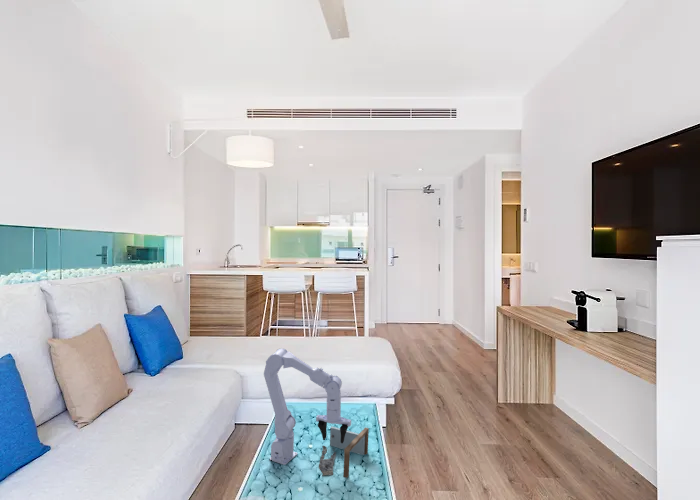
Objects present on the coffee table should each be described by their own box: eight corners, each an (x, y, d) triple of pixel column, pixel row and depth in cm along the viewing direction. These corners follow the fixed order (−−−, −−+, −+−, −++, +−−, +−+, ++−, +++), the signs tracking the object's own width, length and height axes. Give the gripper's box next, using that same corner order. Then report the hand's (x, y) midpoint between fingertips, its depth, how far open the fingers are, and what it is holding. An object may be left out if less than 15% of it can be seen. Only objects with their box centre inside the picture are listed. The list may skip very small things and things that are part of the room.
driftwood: (332, 478, 155) (333, 473, 155) (315, 477, 155) (315, 471, 155) (338, 450, 176) (338, 445, 176) (322, 449, 176) (322, 444, 176)
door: (328, 446, 176) (329, 428, 176) (331, 444, 178) (331, 426, 178) (362, 456, 169) (362, 437, 169) (364, 453, 171) (365, 435, 171)
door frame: (347, 477, 155) (348, 450, 154) (343, 476, 155) (344, 449, 155) (367, 453, 173) (368, 428, 172) (364, 452, 173) (365, 427, 173)
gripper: (353, 406, 166) (353, 438, 166) (320, 401, 170) (320, 433, 171) (348, 413, 159) (348, 447, 160) (314, 408, 163) (314, 441, 164)
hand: (333, 440), depth 165 cm, fingers open, 7 cm apart
